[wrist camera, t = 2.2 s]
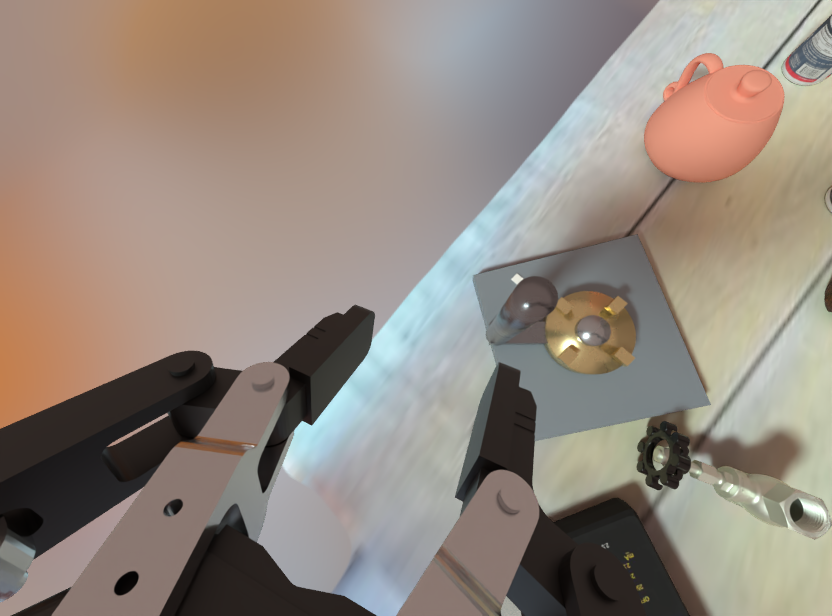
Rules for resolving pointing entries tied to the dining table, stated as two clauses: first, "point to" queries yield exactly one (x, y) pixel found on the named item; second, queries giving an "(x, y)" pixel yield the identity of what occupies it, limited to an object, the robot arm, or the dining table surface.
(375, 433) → the dining table surface
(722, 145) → the sugar bowl
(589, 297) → the brass hub with handle
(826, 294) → the bolt
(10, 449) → the robot arm
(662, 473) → the valve
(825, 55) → the pill bottle
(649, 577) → the multimeter
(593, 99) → the dining table surface
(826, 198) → the supplement bottle
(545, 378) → the base plate
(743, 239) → the dining table surface
